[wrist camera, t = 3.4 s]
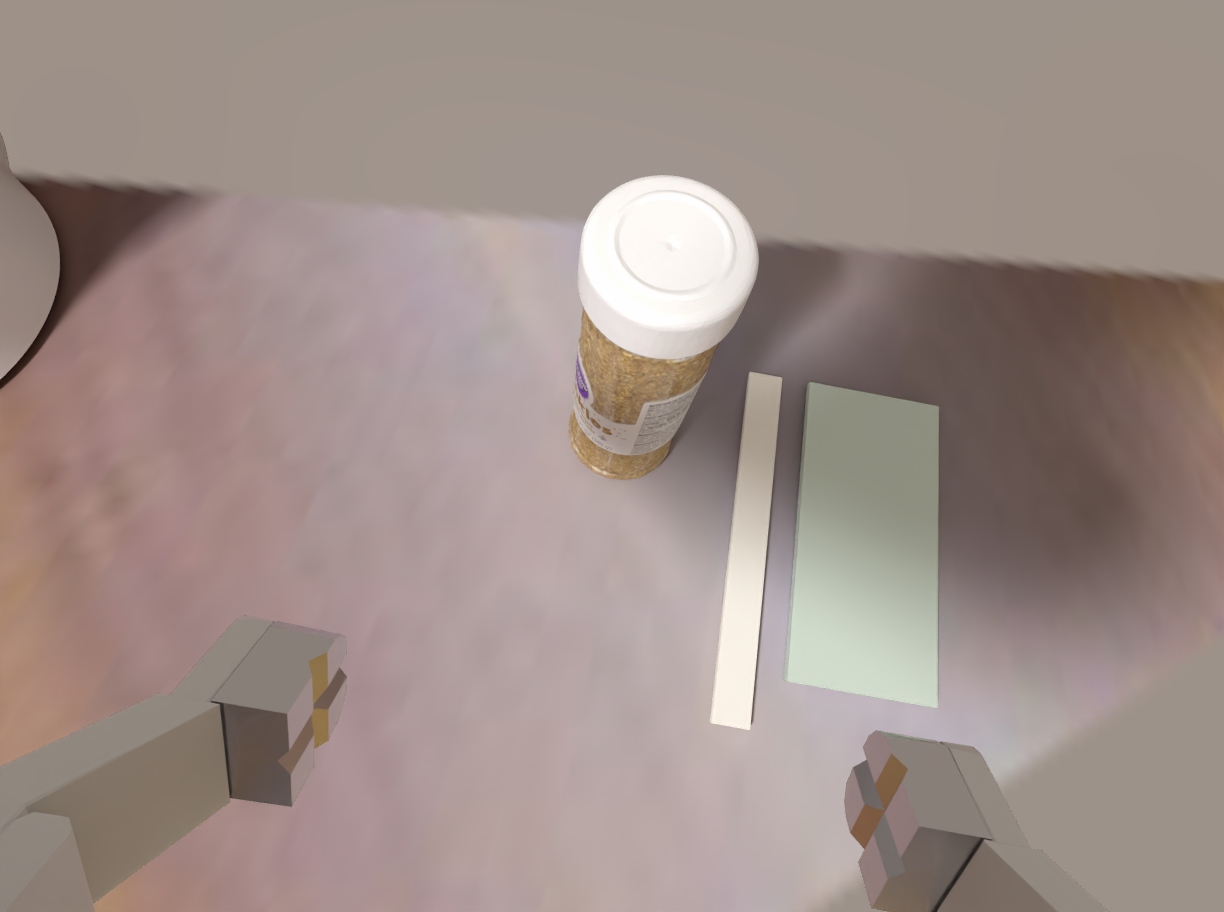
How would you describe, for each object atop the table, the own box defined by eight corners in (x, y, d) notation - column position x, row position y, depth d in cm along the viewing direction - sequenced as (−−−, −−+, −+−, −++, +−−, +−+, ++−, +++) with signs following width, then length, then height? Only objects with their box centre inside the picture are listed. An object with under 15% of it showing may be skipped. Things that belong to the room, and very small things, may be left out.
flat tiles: (709, 722, 26) (711, 723, 25) (748, 374, 31) (750, 370, 30) (931, 761, 26) (937, 763, 25) (934, 409, 31) (938, 406, 30)
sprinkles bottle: (550, 412, 29) (547, 204, 16) (640, 370, 30) (703, 143, 17) (600, 502, 28) (638, 354, 15) (692, 455, 29) (799, 279, 16)
